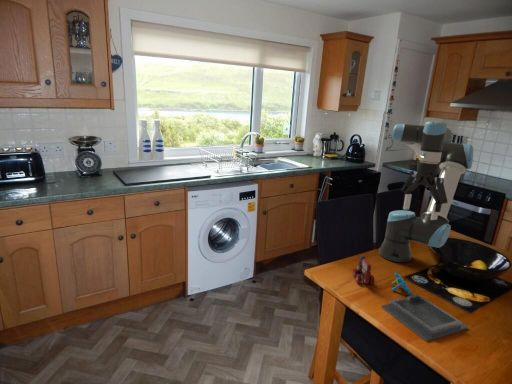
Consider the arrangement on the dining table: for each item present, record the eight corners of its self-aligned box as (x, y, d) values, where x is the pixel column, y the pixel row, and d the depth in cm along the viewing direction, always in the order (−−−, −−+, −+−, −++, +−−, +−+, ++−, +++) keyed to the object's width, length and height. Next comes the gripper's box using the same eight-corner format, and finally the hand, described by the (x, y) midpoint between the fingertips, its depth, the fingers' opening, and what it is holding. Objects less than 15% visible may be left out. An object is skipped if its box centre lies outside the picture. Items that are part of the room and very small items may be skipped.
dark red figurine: (366, 274, 152) (369, 252, 150) (374, 288, 140) (378, 265, 138) (350, 273, 152) (353, 251, 150) (358, 287, 140) (361, 264, 138)
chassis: (420, 298, 135) (421, 291, 134) (468, 328, 117) (469, 321, 116) (381, 307, 127) (382, 300, 126) (426, 341, 109) (427, 333, 108)
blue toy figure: (416, 298, 133) (400, 278, 132) (402, 305, 134) (387, 286, 134) (409, 284, 143) (394, 266, 142) (396, 291, 145) (382, 273, 144)
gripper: (397, 157, 141) (389, 205, 146) (451, 168, 119) (439, 225, 124) (410, 157, 144) (402, 204, 149) (465, 167, 122) (453, 223, 127)
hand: (419, 214), depth 137 cm, fingers open, 13 cm apart
